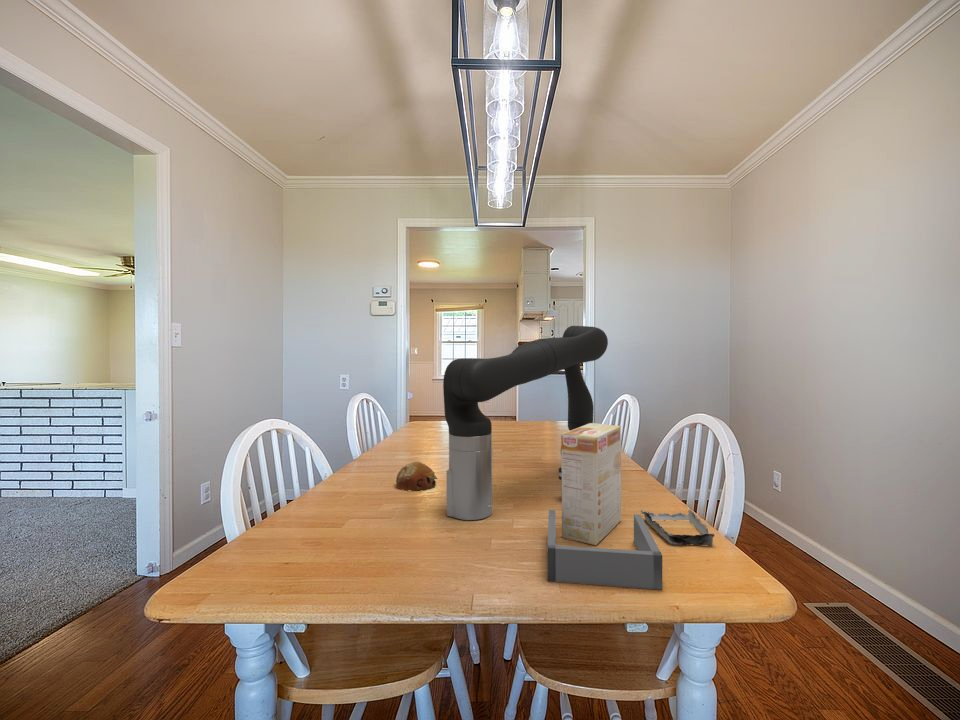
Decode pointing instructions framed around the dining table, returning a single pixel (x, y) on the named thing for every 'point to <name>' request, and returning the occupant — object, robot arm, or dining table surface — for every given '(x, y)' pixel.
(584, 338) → the robot arm
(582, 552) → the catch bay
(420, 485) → the bread roll
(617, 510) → the coffeecake box
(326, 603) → the dining table surface
